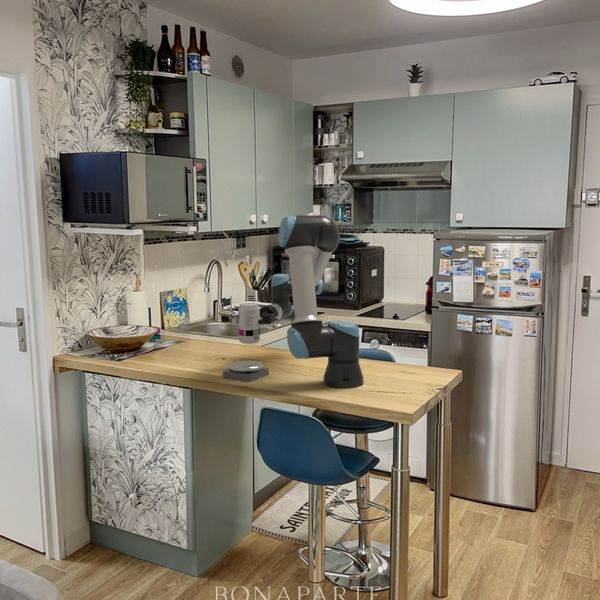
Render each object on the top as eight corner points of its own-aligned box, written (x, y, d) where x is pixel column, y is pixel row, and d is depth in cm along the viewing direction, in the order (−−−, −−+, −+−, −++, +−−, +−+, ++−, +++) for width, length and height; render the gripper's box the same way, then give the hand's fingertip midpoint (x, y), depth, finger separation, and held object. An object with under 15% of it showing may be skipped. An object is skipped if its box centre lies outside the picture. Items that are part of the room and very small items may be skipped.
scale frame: (268, 374, 254) (268, 367, 254) (250, 381, 243) (250, 375, 243) (242, 370, 261) (241, 364, 261) (222, 377, 250) (222, 371, 249)
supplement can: (235, 343, 249) (234, 305, 247) (244, 339, 257) (244, 302, 255) (254, 344, 246) (253, 306, 244) (263, 340, 254) (262, 303, 252)
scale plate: (270, 372, 255) (270, 362, 254) (250, 380, 243) (250, 370, 242) (241, 368, 262) (241, 359, 261) (220, 375, 250) (220, 366, 249)
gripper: (292, 324, 263) (267, 334, 242) (248, 321, 271) (220, 330, 251) (292, 306, 262) (267, 314, 241) (247, 303, 270) (219, 311, 250)
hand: (243, 322), depth 246 cm, fingers closed on supplement can, 8 cm apart
